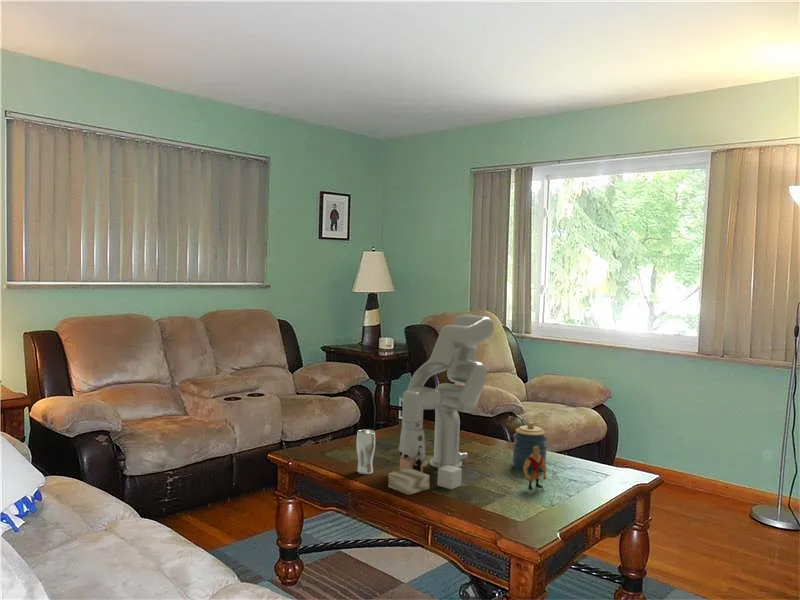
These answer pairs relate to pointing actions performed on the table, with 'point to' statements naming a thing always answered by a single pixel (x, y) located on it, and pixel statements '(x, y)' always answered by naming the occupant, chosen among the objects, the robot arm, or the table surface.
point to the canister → (528, 444)
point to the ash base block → (409, 481)
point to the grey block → (449, 477)
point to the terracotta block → (408, 463)
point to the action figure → (534, 466)
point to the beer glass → (365, 450)
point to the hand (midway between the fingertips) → (411, 472)
